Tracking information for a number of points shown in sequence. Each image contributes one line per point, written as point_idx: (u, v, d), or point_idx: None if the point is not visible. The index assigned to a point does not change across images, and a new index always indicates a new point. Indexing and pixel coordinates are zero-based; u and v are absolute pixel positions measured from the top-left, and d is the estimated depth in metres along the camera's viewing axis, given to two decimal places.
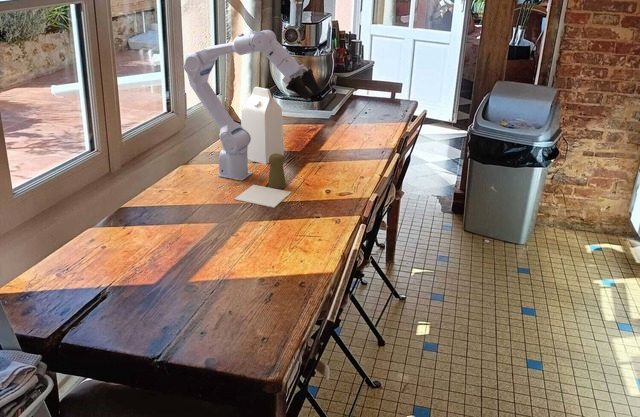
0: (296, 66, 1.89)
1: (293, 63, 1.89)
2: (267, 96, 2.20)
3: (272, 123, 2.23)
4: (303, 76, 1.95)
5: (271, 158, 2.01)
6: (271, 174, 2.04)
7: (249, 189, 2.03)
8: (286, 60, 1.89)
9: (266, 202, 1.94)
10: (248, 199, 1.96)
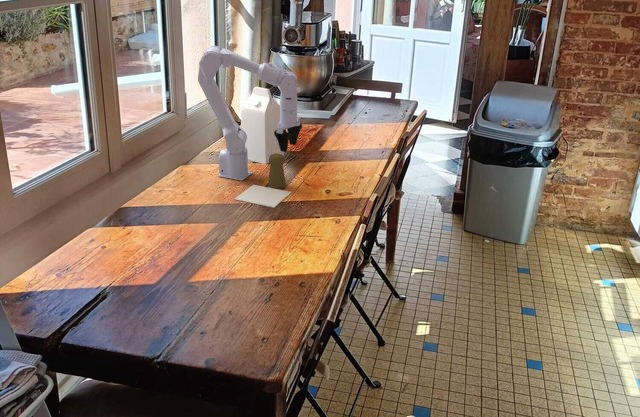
0: (294, 122, 2.04)
1: (294, 118, 2.04)
2: (267, 96, 2.20)
3: (272, 123, 2.23)
4: None
5: (271, 158, 2.01)
6: (271, 174, 2.04)
7: (249, 189, 2.03)
8: (291, 112, 2.02)
9: (266, 202, 1.94)
10: (248, 199, 1.96)
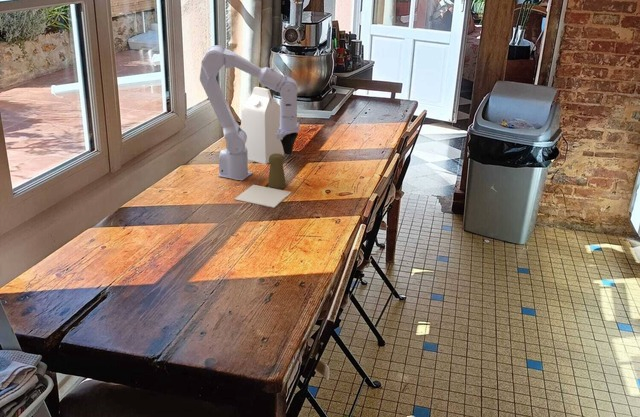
0: (294, 128, 2.05)
1: (294, 124, 2.05)
2: (267, 96, 2.20)
3: (272, 123, 2.23)
4: None
5: (271, 158, 2.01)
6: (271, 174, 2.04)
7: (249, 189, 2.03)
8: (291, 119, 2.03)
9: (266, 202, 1.94)
10: (248, 199, 1.96)
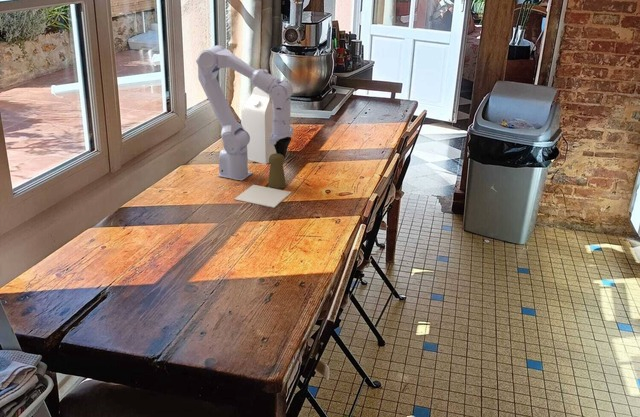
0: (287, 132, 2.01)
1: (287, 128, 2.00)
2: (267, 96, 2.20)
3: (272, 123, 2.23)
4: None
5: (271, 158, 2.01)
6: (271, 174, 2.04)
7: (249, 189, 2.03)
8: (284, 123, 1.99)
9: (266, 202, 1.94)
10: (248, 199, 1.96)
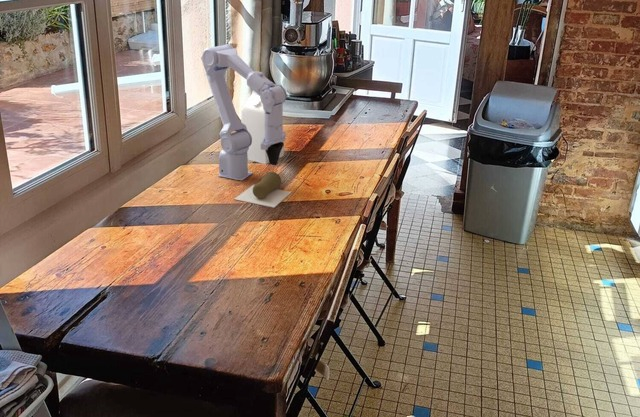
0: (279, 137, 1.96)
1: (279, 134, 1.95)
2: None
3: None
4: None
5: None
6: None
7: (249, 189, 2.03)
8: (276, 128, 1.94)
9: (266, 202, 1.94)
10: (248, 199, 1.96)
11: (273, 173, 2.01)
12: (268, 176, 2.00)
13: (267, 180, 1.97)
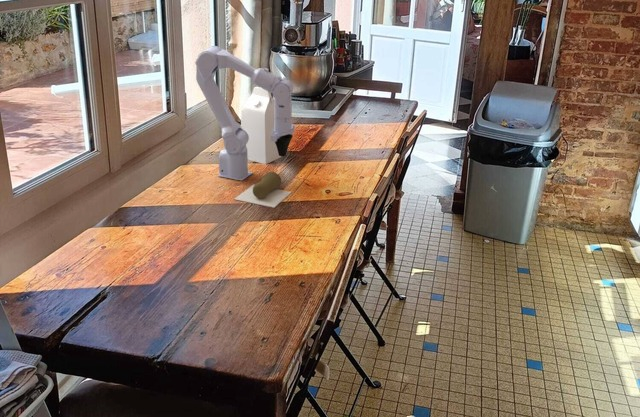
0: (288, 130, 2.03)
1: (288, 126, 2.02)
2: (267, 96, 2.20)
3: (272, 123, 2.23)
4: None
5: None
6: None
7: (249, 189, 2.03)
8: (285, 120, 2.01)
9: (266, 202, 1.94)
10: (248, 199, 1.96)
11: (273, 173, 2.01)
12: (268, 176, 2.00)
13: (267, 180, 1.97)
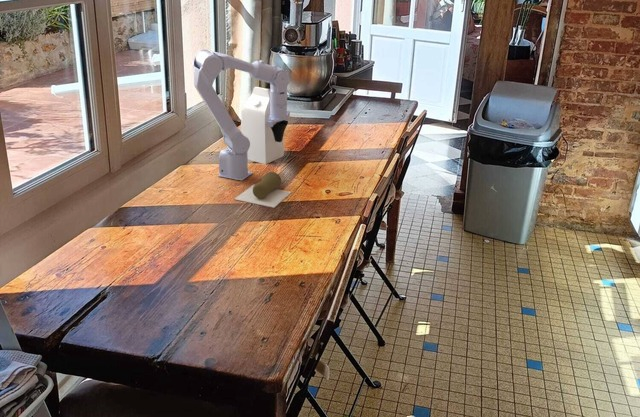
0: (284, 116, 2.11)
1: (284, 112, 2.10)
2: (267, 96, 2.20)
3: None
4: None
5: None
6: None
7: (249, 189, 2.03)
8: (281, 107, 2.09)
9: (266, 202, 1.94)
10: (248, 199, 1.96)
11: (273, 173, 2.01)
12: (268, 176, 2.00)
13: (267, 180, 1.97)
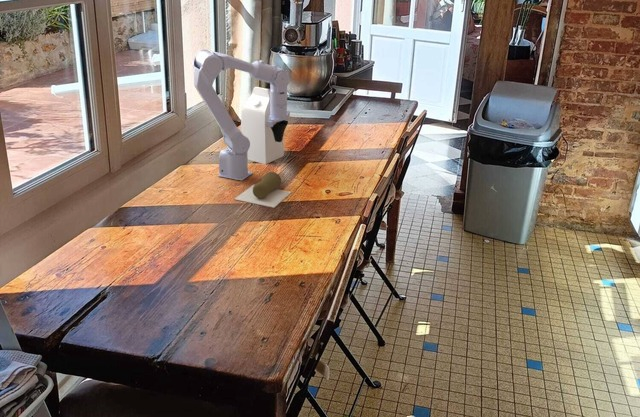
0: (284, 116, 2.11)
1: (284, 112, 2.10)
2: (267, 96, 2.20)
3: None
4: None
5: None
6: None
7: (249, 189, 2.03)
8: (281, 107, 2.09)
9: (266, 202, 1.94)
10: (248, 199, 1.96)
11: (273, 173, 2.01)
12: (268, 176, 2.00)
13: (267, 180, 1.97)
